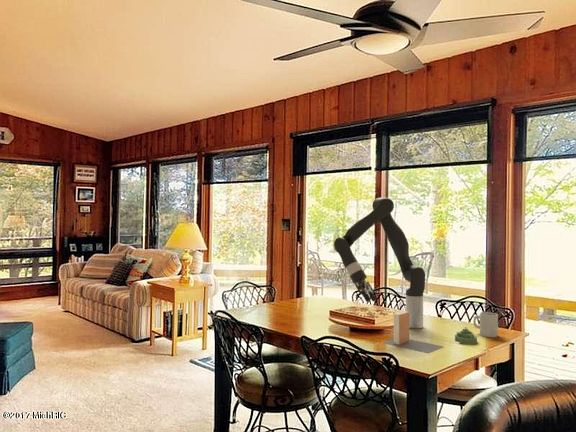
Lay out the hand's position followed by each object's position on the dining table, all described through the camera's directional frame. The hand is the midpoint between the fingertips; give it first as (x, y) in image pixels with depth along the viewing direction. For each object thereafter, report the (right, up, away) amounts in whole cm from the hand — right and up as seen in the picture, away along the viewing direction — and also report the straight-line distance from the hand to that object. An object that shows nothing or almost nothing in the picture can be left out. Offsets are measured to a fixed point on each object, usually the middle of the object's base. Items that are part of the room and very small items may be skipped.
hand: (371, 300), depth 230 cm
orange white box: (+12, -18, -10) cm, 24 cm away
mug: (+59, -19, +6) cm, 62 cm away
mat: (+17, -18, -14) cm, 28 cm away
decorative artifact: (+44, -19, -6) cm, 49 cm away
